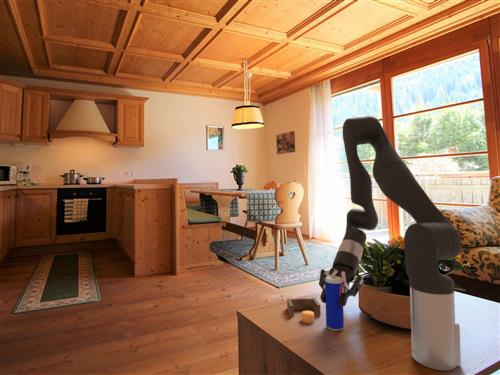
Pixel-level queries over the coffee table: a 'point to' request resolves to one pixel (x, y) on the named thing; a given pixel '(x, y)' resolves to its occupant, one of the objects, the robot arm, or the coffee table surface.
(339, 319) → the beverage can
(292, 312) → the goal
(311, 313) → the orange rounded puck
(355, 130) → the robot arm
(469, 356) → the coffee table surface
